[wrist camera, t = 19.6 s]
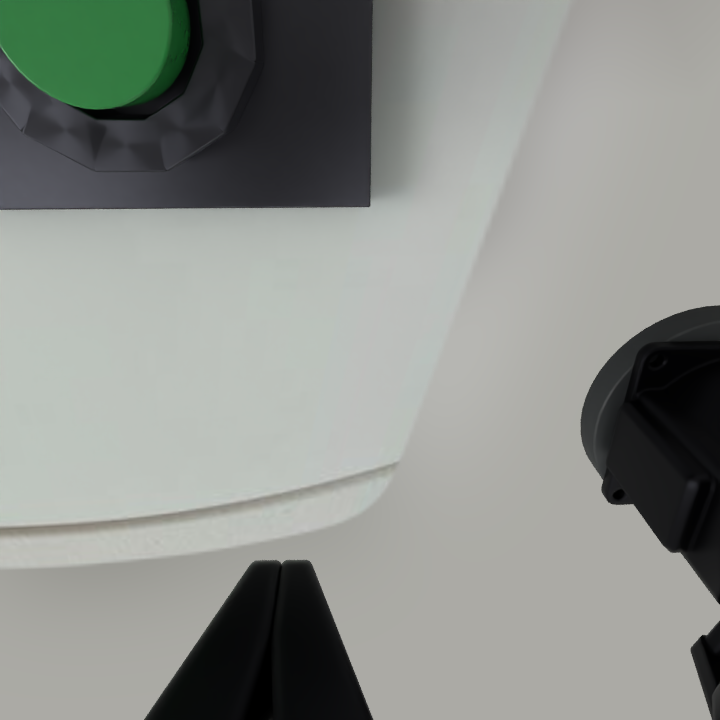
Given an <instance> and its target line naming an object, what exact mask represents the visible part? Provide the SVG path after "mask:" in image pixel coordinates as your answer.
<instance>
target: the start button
mask: <svg viewBox="0 0 720 720" xmlns="http://www.w3.org/2000/svg"><path fill="white" fill-rule="evenodd" d="M190 32H191V28H190V16H189V10H188V5H187V1H186V0H0V47H1V49H2V50H3V52H4V53H5V55H6V56H7V58H8V59H9V60H10V62H11V63H12V64H13V65H14V66H15V67H16V69H17V70H18V71H19V72H20V73H21V74H22V75H23V76H24V77H25V78H26V79H27V80H28V81H29V82H31V83H32V84H33V85H35V86H36V87H37V88H38V89H40V90H41V91H43V92H44V93H46V94H48V95H49V96H51V97H53V98H55V99H57V100H59V101H61V102H63V103H66V104H69V105H72V106H75V107H80V108H85V109H96V110H100V109H112V108H119V107H127V106H134V105H138V104H143V103H146V102H148V101H151V100H153V99H155V98H156V97H158V96H160V95H161V94H162V93H164V92H165V91H166V90H167V89H168V88H169V87H170V86H171V85H172V84H173V83H174V82H175V80H176V79H177V77H178V76H179V74H180V72H181V70H182V68H183V66H184V64H185V61H186V58H187V55H188V50H189V45H190Z"/></svg>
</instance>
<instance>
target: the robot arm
mask: <svg viewBox="0 0 720 720" xmlns="http://www.w3.org/2000/svg"><path fill="white" fill-rule="evenodd" d="M658 354H659V356H658V357H657V359H656V360H655V361H653V362H650V360H651V358H652V357H653V356H655V355H658ZM606 467H607V469H606V473H605V476H604V480H603V484H602V493H603V495H604V496H605V498H606V499H607V501H608V502H609V503H611V504H616V505H624V504H634V506H635V507H636V508H637V510H638V511H639V512H640V514H641V515H642V516H643V518H644V519H645V521H646V522H647V524H648V525H649V526H650V528H651V529H652V531H653V532H654V533H655V535H656V536H657V538H658V539H659V540H660V542H661V543H662V544H663V546H664V547H666V548H667V549H668V550H669V551H670V552H672V553H676V552H681V554H682V555H683V556H684V558H685V559H686V560H687V561H688V563H689V564H690V566H691V567H692V568H693V570H694V571H695V572H696V574H697V575H698V577H699V578H700V579H701V580H702V582H703V583H704V584H705V586H706V587H707V588H708V590H709V591H710V593H711V594H712V595H713V597H714V598H715V599H716V601H717V602H718V603H719V604H720V341H680V342H652V343H648V344H646V345H644V346H643V347H642V348H641V349H640V350H639V351H638V353H637V355H636V358H635V362H634V366H633V369H632V373H631V377H630V381H629V385H628V389H627V392H626V396H625V400H624V403H623V405H622V406H621V407H620V409H619V413H618V417H617V421H616V425H615V428H614V432H613V436H612V440H611V444H610V448H609V451H608V455H607V459H606ZM618 489H620V490H618ZM616 490H618V491H617V492H615V491H616ZM691 654H692V657H693V660H694V663H695V666H696V669H697V673H698V676H699V679H700V682H701V685H702V689H703V692H704V695H705V698H706V701H707V704H708V708H709V711H710V714H711V717H712V720H720V621H719V622H718V623H717V624H716V625H715V627H714V628H713V629H712V630H711V631H710V632H709V634H708V635H702V636H701V637H700V638H699V639H698V641H696V643H695V644H694V645H693V646H692V647H691ZM144 720H373V718H372V716H371V713H370V711H369V708H368V705H367V703H366V700H365V698H364V695H363V693H362V690H361V687H360V685H359V682H358V680H357V677H356V675H355V672H354V670H353V667H352V665H351V662H350V660H349V657H348V655H347V652H346V650H345V647H344V645H343V642H342V640H341V637H340V634H339V632H338V629H337V627H336V624H335V622H334V619H333V616H332V614H331V612H330V609H329V606H328V604H327V601H326V599H325V596H324V594H323V591H322V589H321V586H320V583H319V581H318V578H317V576H316V573H315V571H314V569H313V566H312V564H311V562H310V561H308V560H286V561H284V562H283V563H282V564H281V563H280V562H279V561H277V560H270V561H269V560H268V561H267V560H262V561H261V560H260V561H254V562H253V563H252V564H251V565H250V566H249V567H248V569H247V570H246V572H245V573H244V575H243V576H242V578H241V579H240V581H239V582H238V583H237V585H236V586H235V588H234V589H233V591H232V592H231V594H230V595H229V596H228V598H227V599H226V601H225V602H224V604H223V605H222V607H221V608H220V610H219V611H218V613H217V614H216V615H215V617H214V618H213V620H212V621H211V623H210V624H209V626H208V627H207V629H206V630H205V632H204V633H203V634H202V636H201V637H200V639H199V640H198V642H197V643H196V645H195V646H194V648H193V649H192V651H191V652H190V653H189V655H188V657H187V658H186V659H185V661H184V662H183V664H182V665H181V667H180V668H179V670H178V671H177V672H176V674H175V676H174V677H173V678H172V680H171V681H170V683H169V684H168V686H167V687H166V688H165V690H164V691H163V693H162V694H161V696H160V697H159V699H158V700H157V702H156V703H155V705H154V706H153V707H152V709H151V710H150V712H149V714H148V715H147V716H146V718H145V719H144Z"/></svg>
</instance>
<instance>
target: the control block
mask: <svg viewBox="0 0 720 720" xmlns="http://www.w3.org/2000/svg"><path fill="white" fill-rule="evenodd" d="M186 1H187V5H188V10H189V16H190V28H191V32H190V45H189V50H188V55H187V58H186V61H185V64H184V66H183V68H182V70H181V72H180V74H179V76H178V77H177V79H176V80H175V82H174V83H173V84H172V85H171V86H170V87H169V88H168V89H167V90H166V91H165V92H164V93H162V94H161V95H160V96H158V97H156V98H155V99H153V100H151V101H148V102H146V103H143V104H138V105H134V106H127V107H119V108H112V109H100V110H96V109H85V108H80V107H75V106H72V105H69V104H66V103H63V102H61V101H59V100H57V99H55V98H53V97H51V96H49V95H48V94H46V93H44V92H43V91H41V90H40V89H38V88H37V87H36V86H35V85H33V84H32V83H31V82H29V81H28V80H27V79H26V78H25V77H24V76H23V75H22V74H21V73H20V72H19V71H18V70H17V69H16V67H15V66H14V65H13V64H12V63H11V62H10V60H9V59H8V58H7V56H6V55H5V53H4V52H3V50H2V49H1V47H0V210H25V209H164V208H302V207H370V185H371V99H372V14H373V0H186Z"/></svg>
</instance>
